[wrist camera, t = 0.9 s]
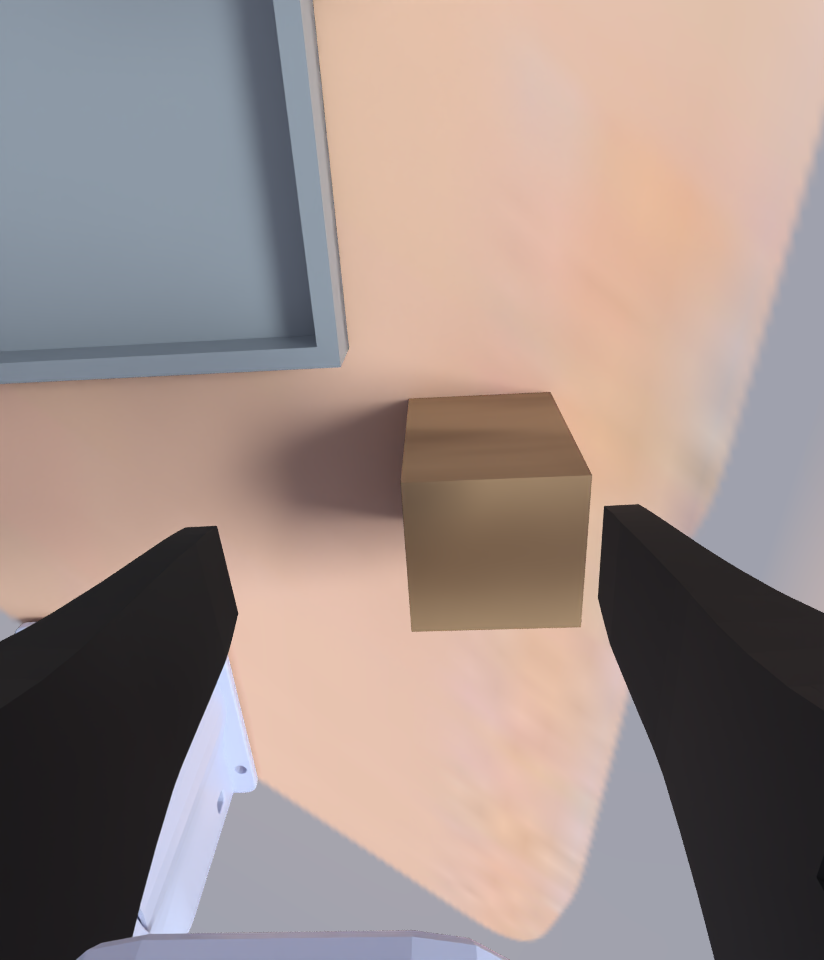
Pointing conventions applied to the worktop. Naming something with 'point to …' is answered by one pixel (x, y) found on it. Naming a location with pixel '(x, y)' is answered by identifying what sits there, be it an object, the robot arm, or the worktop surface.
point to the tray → (164, 191)
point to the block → (493, 513)
